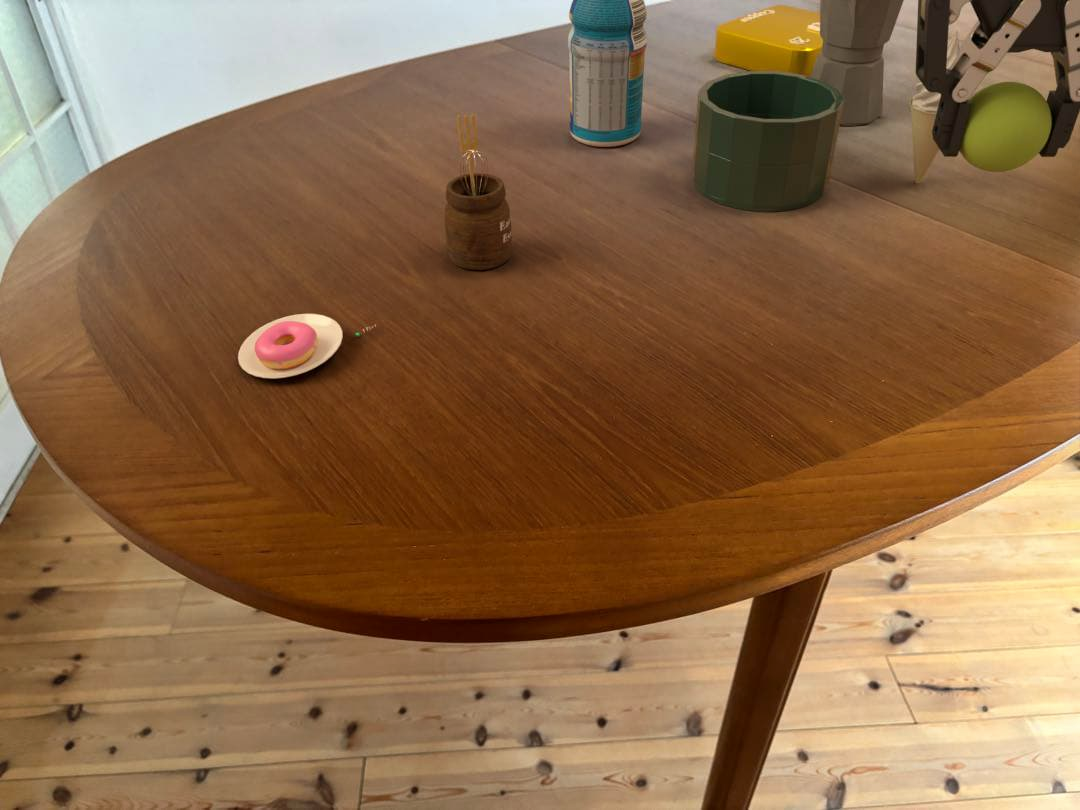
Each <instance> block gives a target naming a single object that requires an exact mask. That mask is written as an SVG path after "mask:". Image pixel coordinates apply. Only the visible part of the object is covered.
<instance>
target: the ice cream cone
mask: <svg viewBox="0 0 1080 810" xmlns="http://www.w3.org/2000/svg"><path fill="white" fill-rule="evenodd" d="M960 50H961V45H960V42H959V31H958V30H956V31H955V33H954V34H953V36H952V37H951V39H950V40H948V47H947V65H946V68H947V69H949V67H950V66H951V65H952V63H953V62H954V60H955V59H956V57H957V56H958V54H959V53H960ZM914 88H915V90H916V91H917V94H915V95H914V96H912V98H911V99H910V100H909V105H910V109H911V110H910V113H911V114H910V115H911V132H912V133H911V134H912V136H911V137H912V151H913V153H912V154H913V169H914V171H913V172H914V183H915V184H921V182H922V181H923V179H924V177H925V175H926V174H927V172H928V170H929V169H930V167H931V165H932V163H933V162H934V160H935V158H936V157H937V155H938V153H939V152H940V149H939V147H938V146H937V144H936V143H935V141H934V140H933V135H932V130H933V126H934V122H935V118H936V114H937V109H938V105H939V101H940V97H941V94H940V93H937V92H929V91H927V89H926V88H925V87H924V85H923V84H922V82H921V81H920V82H918V83H916V84H915V87H914Z"/></svg>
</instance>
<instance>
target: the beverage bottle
mask: <svg viewBox="0 0 1080 810" xmlns="http://www.w3.org/2000/svg"><path fill="white" fill-rule="evenodd" d="M647 12H648V11H647V7H646V3H645V0H572V1H571V5H570V8H569V13H568V19H569V21H570V22H571V29H570V30H569V33H568V36H567V37H568V38H567V47H568V51H569V52H568V53H569V133H570V135H571V137H572V138H573V139H575V141H577V142H579V143H581V144H584V145H587V146H591V147H599V148H612V147H619V146H624V145H627V144H629V143H632V142H634V141H635V140H637V139H638V138H639V137H640V135H641V132H642V109H643V92H644V91H643V90H644V74H645V73H644V70H645V57H646V56H645V54H646V49H647V44H648V40H647V39H648V37H647V32H646V29H645V28H644V23H645V22H646V19H647V17H648V13H647Z"/></svg>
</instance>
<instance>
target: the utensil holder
mask: <svg viewBox="0 0 1080 810" xmlns="http://www.w3.org/2000/svg"><path fill="white" fill-rule="evenodd" d="M463 119H464V129H465V140H466V141H464V135H463V127H462V117H461V116H460V115H457V117H456V121H457V130H458V131H457V132H458V140H459V141H458V142H459V149H460V152H461V154H463V155H462V157H461V159H460V162H459V167H460V168H459V171H460V173H459V174H460V175H458V176H457V177H454V178H452V179H451V180H449V182H448V183H447V185H446V189H445V199H446V202H447V203H446V205H445V207H444V215H443V216H444V232H445V239H446V248H447V252H448V256H449V259H450V261H451V262H452V263H453V264H454V265H456V266H457V267H459V268H461V269H464V270H470V271H486V270H492V269H494V268H498V267H500V266H502V265H503V264H505V263H506V262H507V261H508V260H509V259H510V257H511V255H512V252H513V251H512V249H513V234H512V217H511V209H510V205H509V203H508V201H507V200H506V196H507V195H506V194H507V192H506V188H505V183H504V181H503V180H502V179H501V178H500V177H498V176H496V175H493V174H491V173H490V174H489V173H486V172H484V171H483V170H484V169H486V168H487V170H489V163H488V158H487V156H486V155H485V154H484V152H482V151H481V150H480V149H479V144H478V136H477V135H478V134H477V125H476V116H475V114H471V115H470V121H471V130H472V138H473V140H472V141H471V136H470V126H469V125H470V124H469V116H468V115H467V114H465V115H464V116H463ZM479 153H480V154H479ZM475 154H477V155H478V156H479V158H480V159H481V172H475V171H474V169H475V170H477V164H476V162H474V163H473V159H474V160H476V157H475ZM465 156H467V159H466V163H465V166H467V164H468V167H469V168H468V169H469V173H465V168H464V165H462V161H463V159H464V157H465ZM483 156H484V157H485V159H486V165H485V162H484V160H483ZM473 164H474V165H473ZM474 166H475V167H474ZM486 166H487V167H486ZM462 169H463V170H462ZM462 171H463V174H462ZM483 172H484V173H483Z"/></svg>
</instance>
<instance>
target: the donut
mask: <svg viewBox="0 0 1080 810" xmlns="http://www.w3.org/2000/svg"><path fill="white" fill-rule="evenodd" d="M374 327H375V328H376V327H377V324H376V323H375V324H374V326H373V325H372V326H368V327H365V329H366V331H367V332H369V330H370V331H372V329H374ZM365 329H364V328H363V329H362V331H363V334H365V333H366V331H365ZM343 334H344V333H343V329H342V326H341V325H340V324H339V323H338V322H337V321H336V320H335V319H333V318H331V317H329V316H326V315H323V314H318V313H300V314H299V313H298V314H293V315H292V314H291V315H287V316H284V317H281V318H278V319H274V320H272V321H270V322H267V323H266V324H264V325H262V326H261V327H258V328H257V329H256V330H254V331H253V332H252V333H251V334H250V335H249V336H248V337H246V338H245V340H244V341H243V342H242V344H241V345H240V347H239V350H238V354H237V361H238V365H239V366H240V368H241V369H242V370H243V371H245V372H246V373H247V374H249V375H251V376H253V377H256V378H262V379H273V380H274V379H284V378H289V377H290V378H291V377H295V376H298V375H302V374H304V373H307V372H309V371H312V370H314V369H315V368H317V367H319V366H321V365H322V364H324V363H325V362H327V361H328V360H329V359H330V358H332V357H333V355H334V354H335V353H337V351H338V350H339V348H340V346H341V345H342V342H343V337H344V336H343ZM354 335H355V337H356V338H358V337H360V333H359V332H355V334H354Z"/></svg>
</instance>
